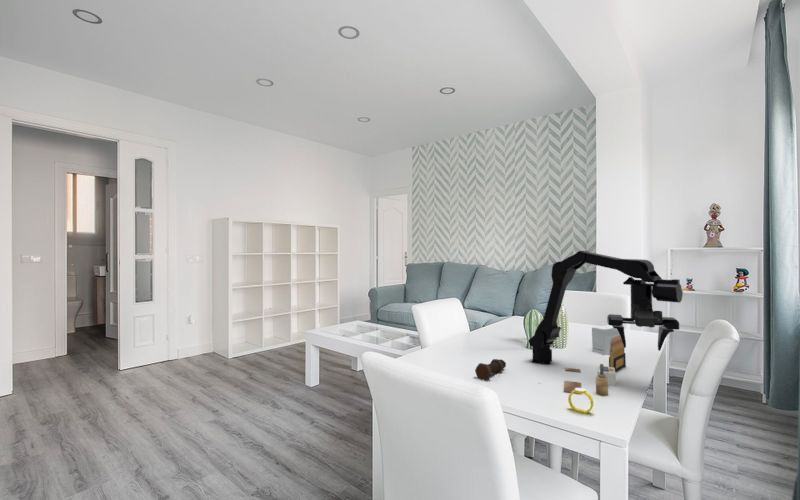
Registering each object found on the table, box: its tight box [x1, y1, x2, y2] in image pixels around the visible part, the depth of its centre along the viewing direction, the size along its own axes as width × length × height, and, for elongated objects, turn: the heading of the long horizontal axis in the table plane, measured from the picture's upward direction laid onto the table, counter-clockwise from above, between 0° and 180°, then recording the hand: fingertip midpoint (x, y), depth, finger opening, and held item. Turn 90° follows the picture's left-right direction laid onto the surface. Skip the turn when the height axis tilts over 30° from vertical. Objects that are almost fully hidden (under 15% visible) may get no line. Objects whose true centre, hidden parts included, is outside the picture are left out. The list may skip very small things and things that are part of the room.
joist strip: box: [563, 367, 583, 395], centre depth 127 cm, size 5×25×1 cm, turn 156°
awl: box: [595, 363, 609, 397], centre depth 115 cm, size 3×3×9 cm
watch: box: [567, 387, 594, 414], centre depth 103 cm, size 6×3×6 cm, turn 51°
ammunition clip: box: [608, 335, 627, 373], centre depth 138 cm, size 11×2×12 cm, turn 131°
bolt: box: [474, 358, 507, 381], centre depth 134 cm, size 6×5×15 cm
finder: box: [596, 365, 617, 387], centre depth 125 cm, size 5×7×4 cm
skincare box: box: [591, 324, 620, 356], centre depth 161 cm, size 10×6×10 cm, turn 114°
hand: (641, 348), depth 121 cm, fingers open, 9 cm apart
